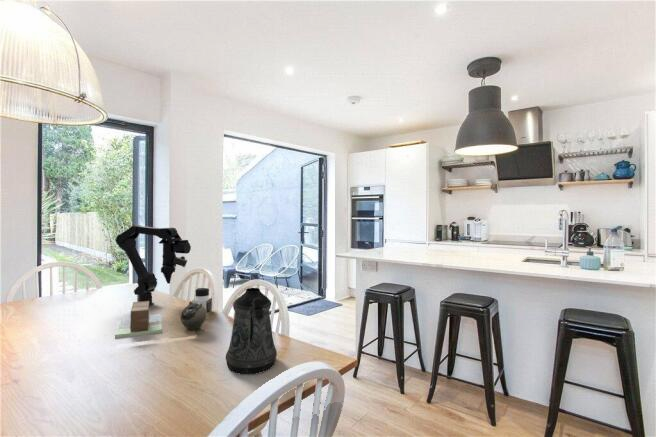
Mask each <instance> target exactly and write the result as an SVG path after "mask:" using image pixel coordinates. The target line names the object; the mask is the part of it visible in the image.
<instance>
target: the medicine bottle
mask: <svg viewBox="0 0 656 437" xmlns="http://www.w3.org/2000/svg"><path fill="white" fill-rule="evenodd" d="M191 302H192V303H199V304H202V305H203V306H204V307H205V308H206V311H207V315H209V314H210V313H211V312H212V310H213V309H212V308H213V297H212V296H210V289H209V288H207V287H198V288H196V289H195V298H193V299H192V300H191Z"/></svg>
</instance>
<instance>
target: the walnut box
mask: <svg viewBox="0 0 656 437" xmlns="http://www.w3.org/2000/svg"><path fill="white" fill-rule="evenodd" d="M149 315H150V305H149V301H142V302H137V301H134V302H132V305H131V309H130V317H131V324H130V328H131V330H130V333H132V332H140V331H148V327H149Z"/></svg>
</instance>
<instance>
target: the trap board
mask: <svg viewBox="0 0 656 437" xmlns="http://www.w3.org/2000/svg"><path fill="white" fill-rule="evenodd" d="M153 322H158V324H152V325H151V323H153ZM125 325H131V316H130V317H129V316H128V317H121V319H120V322H119V325H118V327H117V331H116V333H115V334H114V338H115V339H120V338H127V337H136V336H145V335H153V334H160V333H161V334H162V333H163V314H162V313H158V314H157V313H156V314H149V327H148V331H140V332H132V333H130V330H131V327H127V328H126V327H124V328H122V327H123V326H125Z"/></svg>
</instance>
